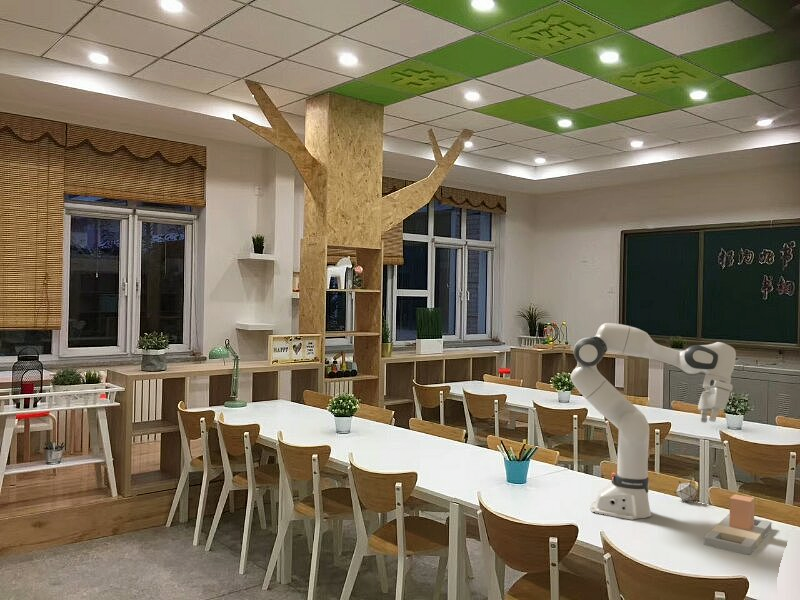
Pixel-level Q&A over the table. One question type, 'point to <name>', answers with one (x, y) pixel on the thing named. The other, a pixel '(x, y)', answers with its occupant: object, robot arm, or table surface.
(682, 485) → the grey faceted ball
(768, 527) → the box
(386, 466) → the table surface
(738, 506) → the block
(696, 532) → the table surface
